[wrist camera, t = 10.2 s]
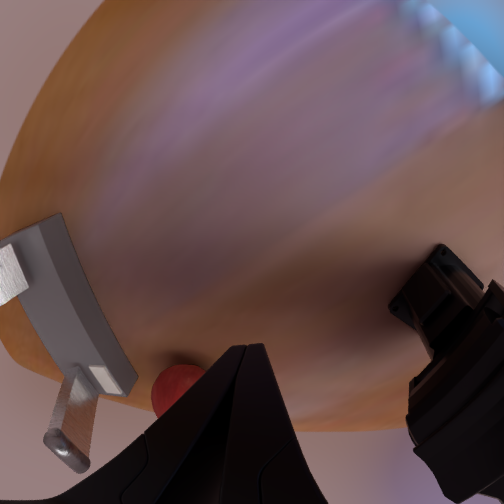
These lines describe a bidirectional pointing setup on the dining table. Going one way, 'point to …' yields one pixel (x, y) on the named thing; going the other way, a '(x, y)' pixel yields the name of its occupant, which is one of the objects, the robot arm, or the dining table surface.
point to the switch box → (68, 307)
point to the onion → (173, 385)
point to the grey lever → (73, 421)
